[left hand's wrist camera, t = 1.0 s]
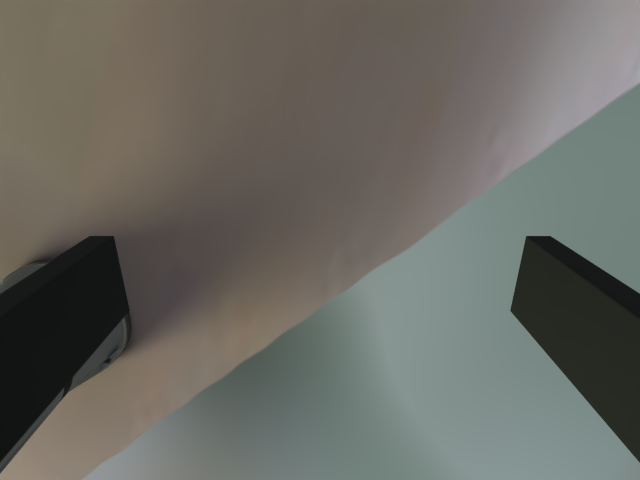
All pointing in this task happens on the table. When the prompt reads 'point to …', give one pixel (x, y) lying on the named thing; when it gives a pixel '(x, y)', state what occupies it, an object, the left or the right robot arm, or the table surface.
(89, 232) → the table surface
